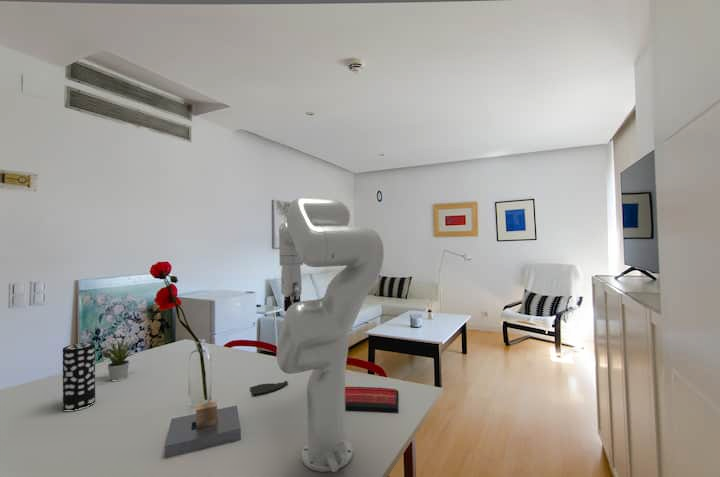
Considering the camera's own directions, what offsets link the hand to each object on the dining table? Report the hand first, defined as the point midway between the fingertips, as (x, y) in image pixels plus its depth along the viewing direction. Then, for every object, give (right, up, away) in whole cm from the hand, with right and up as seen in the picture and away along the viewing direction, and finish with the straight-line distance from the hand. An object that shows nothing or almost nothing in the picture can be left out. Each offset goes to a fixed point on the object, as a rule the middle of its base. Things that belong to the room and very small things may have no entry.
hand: (292, 313), depth 107 cm
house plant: (-76, -33, +28) cm, 87 cm away
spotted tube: (-73, -32, +4) cm, 79 cm away
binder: (+24, -31, +4) cm, 39 cm away
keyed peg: (-21, -31, -15) cm, 40 cm away
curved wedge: (-12, -32, +13) cm, 36 cm away
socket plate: (-21, -31, -15) cm, 40 cm away
